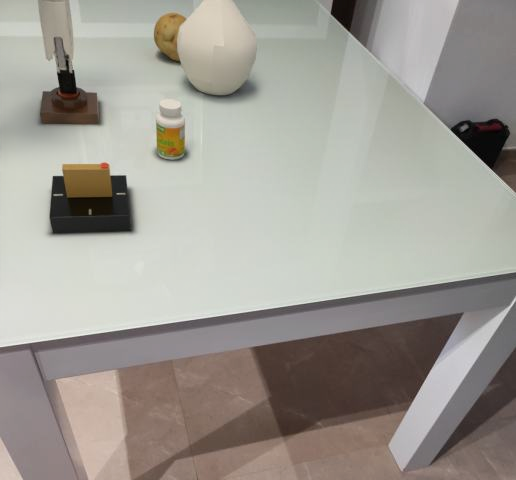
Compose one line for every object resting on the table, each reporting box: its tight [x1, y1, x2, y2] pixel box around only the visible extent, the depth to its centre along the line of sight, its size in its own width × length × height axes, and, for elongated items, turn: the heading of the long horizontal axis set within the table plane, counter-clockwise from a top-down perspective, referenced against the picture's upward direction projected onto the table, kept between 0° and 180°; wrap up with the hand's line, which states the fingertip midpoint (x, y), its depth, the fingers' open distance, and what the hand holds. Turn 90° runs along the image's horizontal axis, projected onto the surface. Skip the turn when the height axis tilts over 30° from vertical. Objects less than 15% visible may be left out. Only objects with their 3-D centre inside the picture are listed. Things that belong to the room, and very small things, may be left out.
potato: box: [153, 12, 187, 62], centre depth 130 cm, size 10×12×10 cm
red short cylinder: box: [58, 90, 79, 98], centre depth 105 cm, size 4×4×2 cm
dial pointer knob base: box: [49, 174, 132, 234], centre depth 84 cm, size 12×12×3 cm
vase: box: [177, 0, 258, 96], centre depth 113 cm, size 18×18×30 cm
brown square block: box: [39, 86, 100, 125], centre depth 106 cm, size 11×10×4 cm
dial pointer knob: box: [61, 162, 112, 198], centre depth 81 cm, size 7×2×5 cm, turn 102°
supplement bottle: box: [155, 98, 186, 161], centre depth 97 cm, size 5×5×10 cm
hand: (68, 91), depth 104 cm, fingers closed
